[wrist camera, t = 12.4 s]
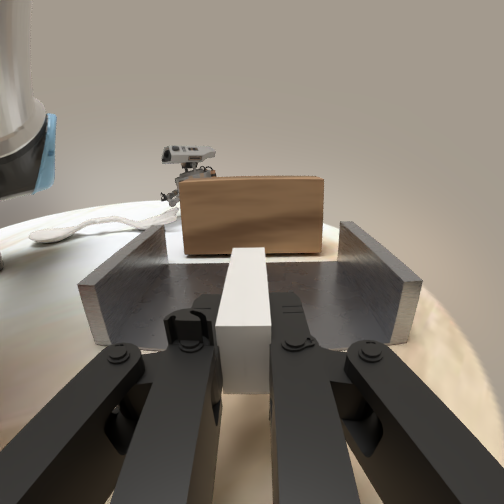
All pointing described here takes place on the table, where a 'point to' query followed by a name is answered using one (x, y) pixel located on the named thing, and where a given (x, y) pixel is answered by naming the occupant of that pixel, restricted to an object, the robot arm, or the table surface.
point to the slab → (252, 214)
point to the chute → (279, 280)
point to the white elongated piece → (63, 233)
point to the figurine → (187, 165)
